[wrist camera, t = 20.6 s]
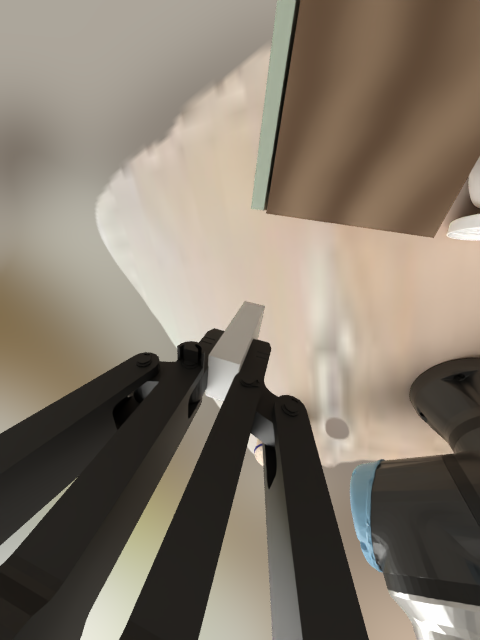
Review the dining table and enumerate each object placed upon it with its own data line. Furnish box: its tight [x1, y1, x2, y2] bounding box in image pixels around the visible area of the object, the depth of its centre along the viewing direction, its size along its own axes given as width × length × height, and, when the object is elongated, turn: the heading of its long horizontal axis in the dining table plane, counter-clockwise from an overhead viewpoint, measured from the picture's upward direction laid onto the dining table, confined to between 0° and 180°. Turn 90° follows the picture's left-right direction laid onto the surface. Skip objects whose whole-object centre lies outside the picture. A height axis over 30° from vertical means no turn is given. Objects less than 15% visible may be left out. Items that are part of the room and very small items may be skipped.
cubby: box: [266, 0, 480, 238], centre depth 20 cm, size 14×15×12 cm
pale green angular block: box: [251, 0, 301, 210], centre depth 19 cm, size 13×15×11 cm
